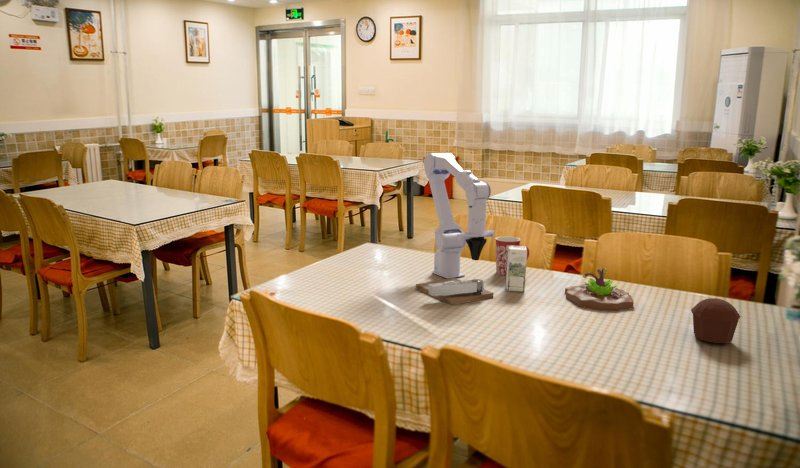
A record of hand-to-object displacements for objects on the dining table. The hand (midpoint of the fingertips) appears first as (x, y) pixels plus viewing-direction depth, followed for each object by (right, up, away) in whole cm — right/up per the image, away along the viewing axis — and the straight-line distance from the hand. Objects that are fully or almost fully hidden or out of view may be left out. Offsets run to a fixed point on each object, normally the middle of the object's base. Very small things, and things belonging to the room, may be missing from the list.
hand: (475, 259), depth 193 cm
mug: (+15, -7, +17) cm, 24 cm away
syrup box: (+13, -10, 0) cm, 17 cm away
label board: (-8, -10, -5) cm, 14 cm away
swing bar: (-7, -10, -13) cm, 18 cm away
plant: (+38, -13, -10) cm, 41 cm away
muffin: (+57, -19, -41) cm, 72 cm away
